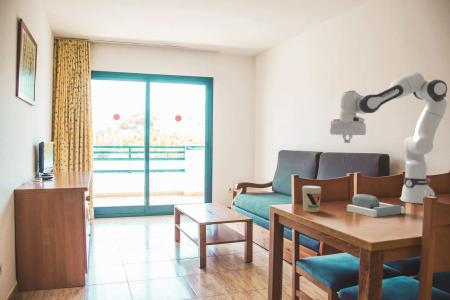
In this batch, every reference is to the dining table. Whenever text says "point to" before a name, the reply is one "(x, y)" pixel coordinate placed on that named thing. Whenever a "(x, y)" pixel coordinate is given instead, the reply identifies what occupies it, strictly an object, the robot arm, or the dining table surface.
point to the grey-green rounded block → (365, 201)
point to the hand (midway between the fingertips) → (347, 142)
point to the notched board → (377, 210)
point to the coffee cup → (311, 198)
